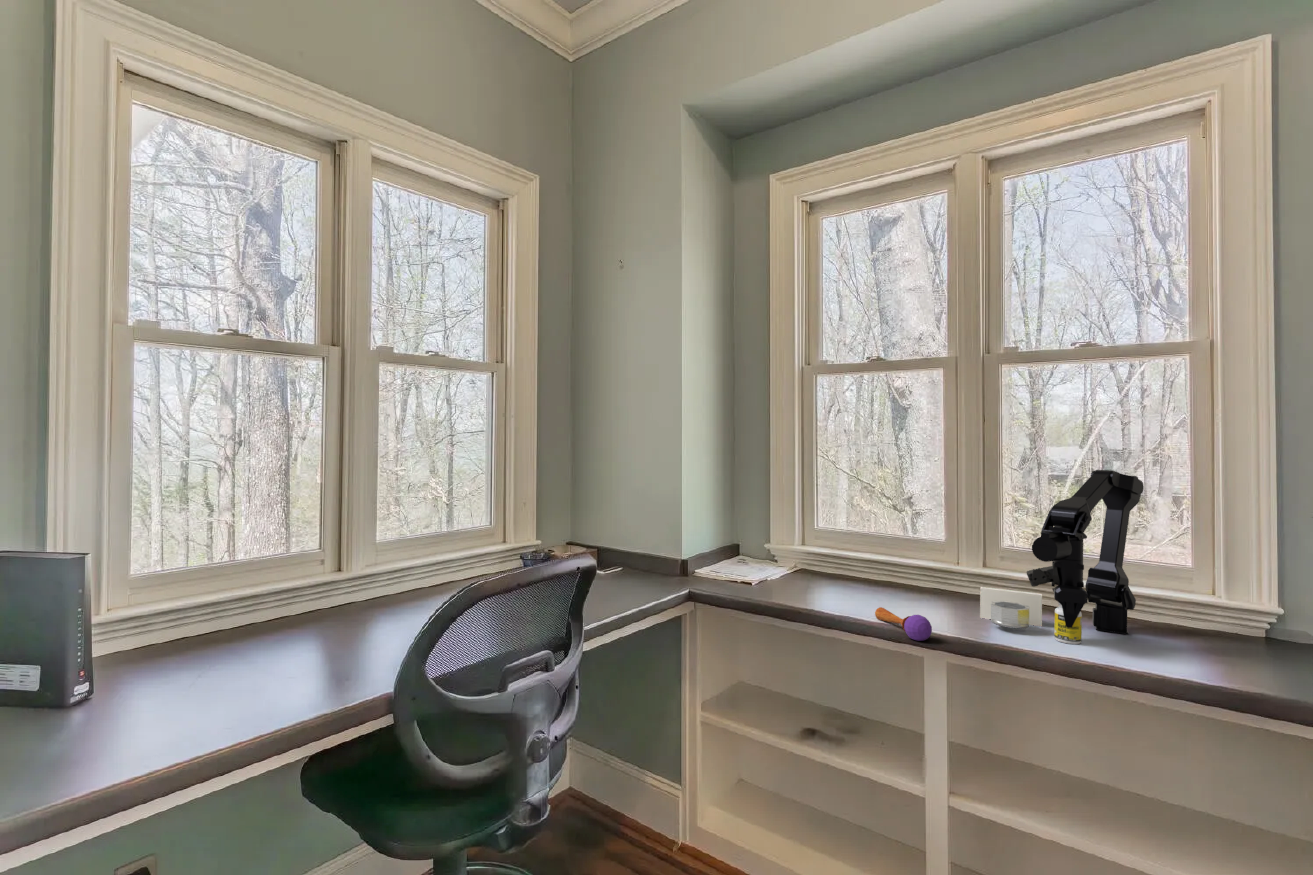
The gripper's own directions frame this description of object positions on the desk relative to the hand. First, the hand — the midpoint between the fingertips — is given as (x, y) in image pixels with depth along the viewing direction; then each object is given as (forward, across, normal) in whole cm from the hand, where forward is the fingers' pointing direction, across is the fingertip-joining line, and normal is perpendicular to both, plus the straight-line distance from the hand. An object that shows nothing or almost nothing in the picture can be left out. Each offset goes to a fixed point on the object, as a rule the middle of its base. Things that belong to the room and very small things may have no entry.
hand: (1068, 624), depth 147 cm
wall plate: (+4, -11, -12) cm, 17 cm away
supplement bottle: (+4, 0, 0) cm, 4 cm away
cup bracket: (+3, -5, -12) cm, 13 cm away
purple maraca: (+4, +13, -35) cm, 38 cm away
